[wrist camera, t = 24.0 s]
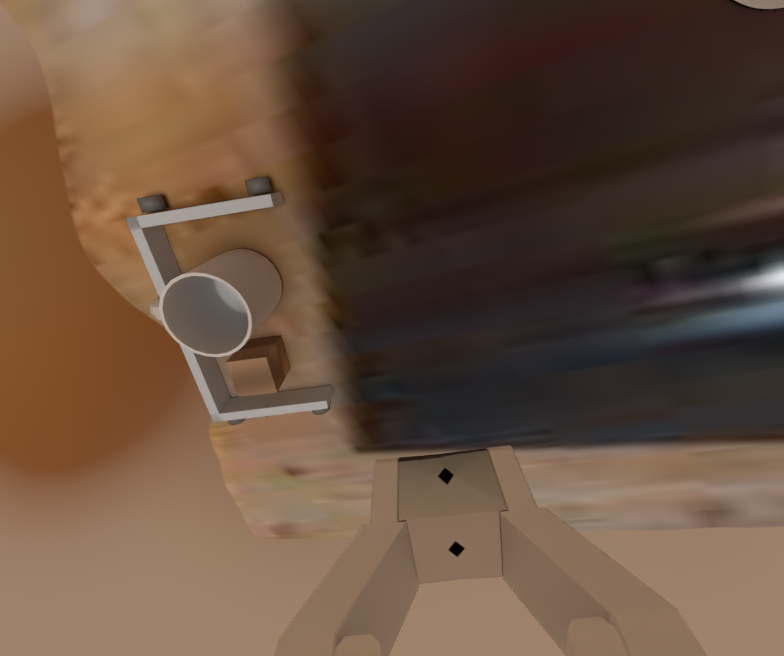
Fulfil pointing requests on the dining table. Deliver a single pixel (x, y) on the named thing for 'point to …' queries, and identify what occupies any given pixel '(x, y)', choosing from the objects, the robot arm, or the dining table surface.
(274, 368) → the walnut block
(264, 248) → the dining table surface
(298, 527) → the dining table surface
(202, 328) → the cup
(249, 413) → the cart frame
